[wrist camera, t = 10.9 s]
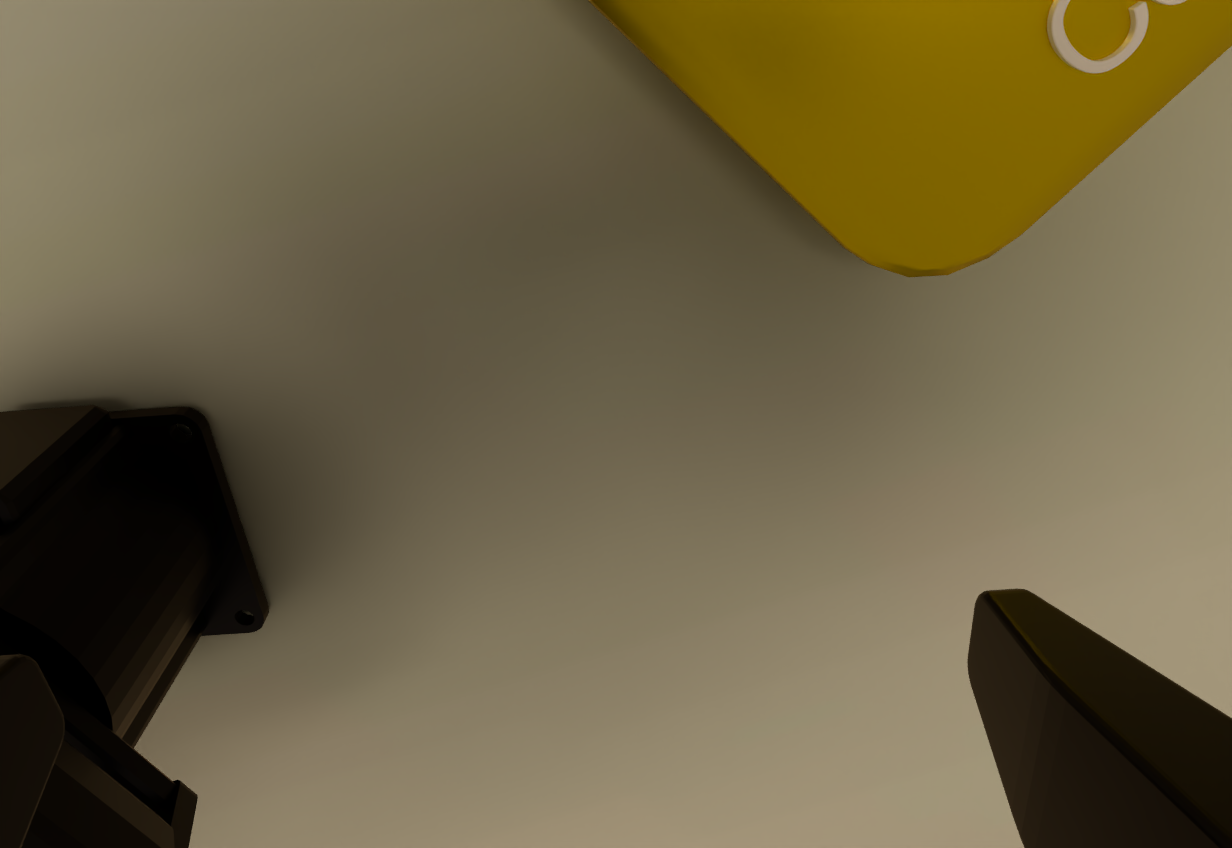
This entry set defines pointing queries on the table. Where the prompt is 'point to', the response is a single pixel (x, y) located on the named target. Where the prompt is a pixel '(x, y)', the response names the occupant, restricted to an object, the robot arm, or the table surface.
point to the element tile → (927, 103)
